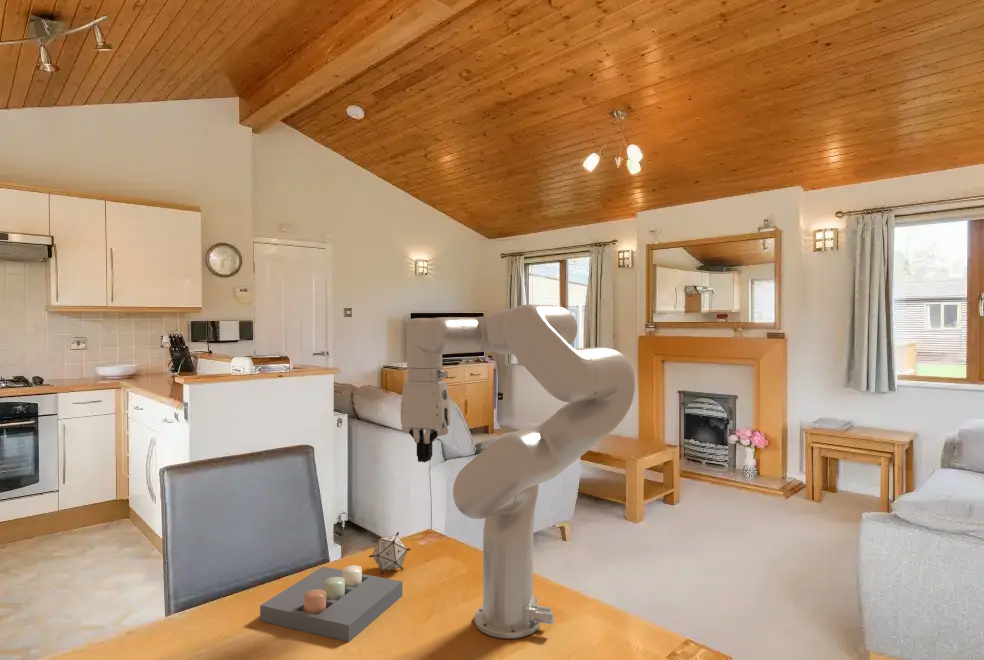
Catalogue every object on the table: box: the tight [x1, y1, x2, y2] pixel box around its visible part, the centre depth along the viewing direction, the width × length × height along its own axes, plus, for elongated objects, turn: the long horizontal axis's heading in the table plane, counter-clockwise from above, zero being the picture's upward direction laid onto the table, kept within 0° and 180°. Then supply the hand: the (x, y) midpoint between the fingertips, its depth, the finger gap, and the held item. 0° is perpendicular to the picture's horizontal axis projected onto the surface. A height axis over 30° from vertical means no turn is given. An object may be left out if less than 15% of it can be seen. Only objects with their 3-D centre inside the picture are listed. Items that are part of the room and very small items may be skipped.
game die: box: [368, 531, 412, 575], centre depth 137 cm, size 9×8×10 cm
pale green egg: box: [324, 577, 345, 601], centre depth 119 cm, size 4×4×5 cm
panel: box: [259, 566, 403, 643], centre depth 119 cm, size 20×19×3 cm
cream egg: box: [341, 564, 363, 587], centre depth 125 cm, size 4×4×5 cm
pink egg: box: [304, 589, 326, 615], centre depth 113 cm, size 4×4×5 cm
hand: (424, 460), depth 129 cm, fingers closed
